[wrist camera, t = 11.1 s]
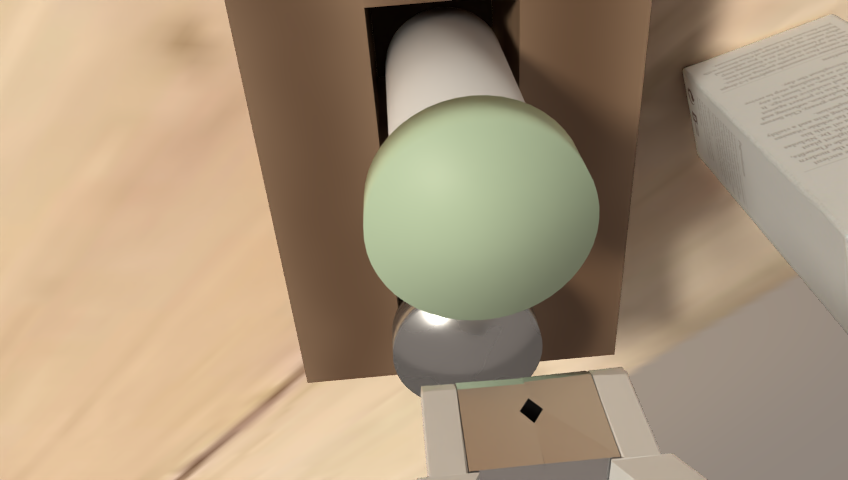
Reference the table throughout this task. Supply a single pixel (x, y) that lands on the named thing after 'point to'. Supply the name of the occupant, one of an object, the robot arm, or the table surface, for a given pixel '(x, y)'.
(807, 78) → the skincare box
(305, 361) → the block
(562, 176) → the plug mid
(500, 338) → the plug
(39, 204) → the table surface
